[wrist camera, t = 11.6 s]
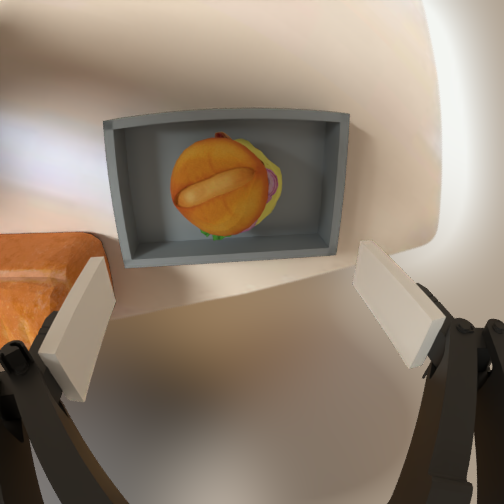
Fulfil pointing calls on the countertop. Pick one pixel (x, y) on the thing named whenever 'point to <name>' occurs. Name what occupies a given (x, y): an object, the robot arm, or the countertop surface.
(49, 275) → the bread
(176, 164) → the cheeseburger
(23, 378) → the robot arm
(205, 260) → the box
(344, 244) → the countertop surface
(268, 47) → the countertop surface
